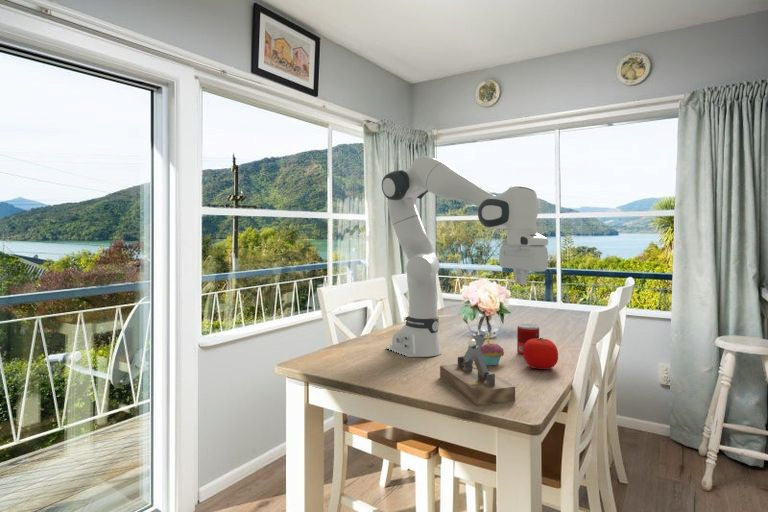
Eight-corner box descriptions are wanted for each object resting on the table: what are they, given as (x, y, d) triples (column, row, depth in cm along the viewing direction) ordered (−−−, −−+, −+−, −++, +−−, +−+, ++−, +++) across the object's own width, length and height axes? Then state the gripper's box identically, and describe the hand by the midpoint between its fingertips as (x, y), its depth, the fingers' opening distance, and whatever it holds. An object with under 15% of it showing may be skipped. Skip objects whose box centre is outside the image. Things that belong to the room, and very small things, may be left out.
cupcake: (486, 368, 152) (486, 333, 152) (474, 361, 161) (475, 328, 160) (508, 366, 155) (508, 332, 154) (495, 359, 163) (496, 327, 162)
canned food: (540, 357, 166) (540, 328, 165) (518, 356, 167) (518, 327, 167) (537, 351, 173) (537, 324, 173) (516, 350, 175) (516, 323, 174)
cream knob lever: (485, 373, 128) (471, 336, 126) (491, 377, 125) (477, 339, 123) (479, 376, 127) (464, 340, 125) (485, 380, 124) (470, 343, 122)
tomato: (549, 362, 159) (549, 333, 158) (564, 373, 147) (564, 342, 146) (518, 362, 158) (518, 334, 158) (530, 373, 146) (531, 342, 146)
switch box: (473, 374, 146) (473, 352, 145) (515, 400, 123) (515, 375, 122) (440, 377, 142) (440, 355, 142) (476, 405, 119) (477, 379, 119)
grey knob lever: (465, 364, 141) (483, 330, 142) (471, 367, 137) (489, 333, 138) (460, 360, 140) (478, 327, 141) (465, 364, 137) (484, 330, 138)
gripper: (494, 238, 143) (493, 280, 144) (533, 239, 124) (532, 288, 124) (511, 238, 145) (510, 280, 146) (552, 239, 125) (551, 287, 126)
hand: (521, 284), depth 135 cm, fingers closed
